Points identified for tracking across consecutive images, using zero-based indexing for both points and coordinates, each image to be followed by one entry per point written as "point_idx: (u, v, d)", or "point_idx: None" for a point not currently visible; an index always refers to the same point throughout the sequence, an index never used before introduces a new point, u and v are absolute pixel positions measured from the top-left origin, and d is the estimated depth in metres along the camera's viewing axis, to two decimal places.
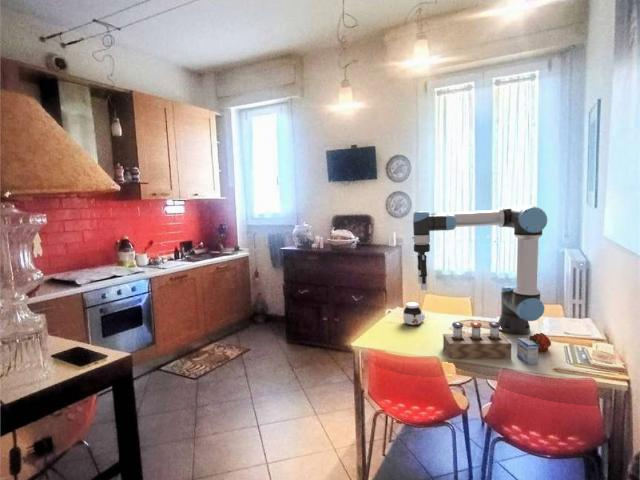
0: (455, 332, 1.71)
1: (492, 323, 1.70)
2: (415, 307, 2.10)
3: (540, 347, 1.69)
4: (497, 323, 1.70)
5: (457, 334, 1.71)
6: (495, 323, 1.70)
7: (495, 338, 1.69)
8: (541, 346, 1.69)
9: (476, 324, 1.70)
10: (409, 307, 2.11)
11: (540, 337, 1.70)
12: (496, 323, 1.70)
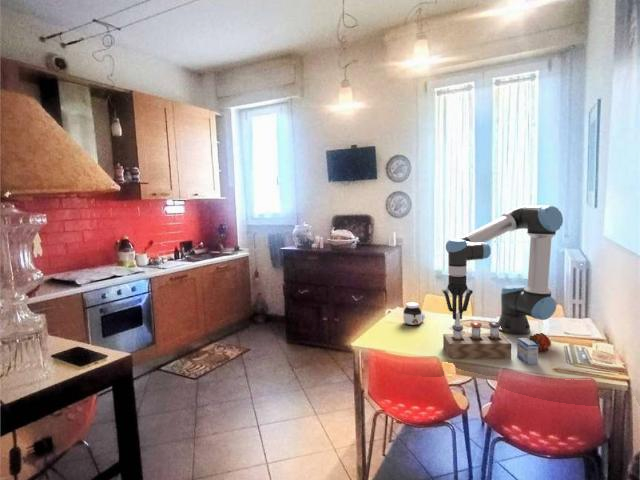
0: (455, 335, 1.71)
1: (492, 323, 1.70)
2: (415, 307, 2.10)
3: (540, 347, 1.69)
4: (497, 323, 1.70)
5: (457, 337, 1.71)
6: (495, 323, 1.70)
7: (495, 338, 1.69)
8: (541, 346, 1.69)
9: (476, 324, 1.70)
10: (409, 307, 2.11)
11: (540, 337, 1.70)
12: (496, 323, 1.70)
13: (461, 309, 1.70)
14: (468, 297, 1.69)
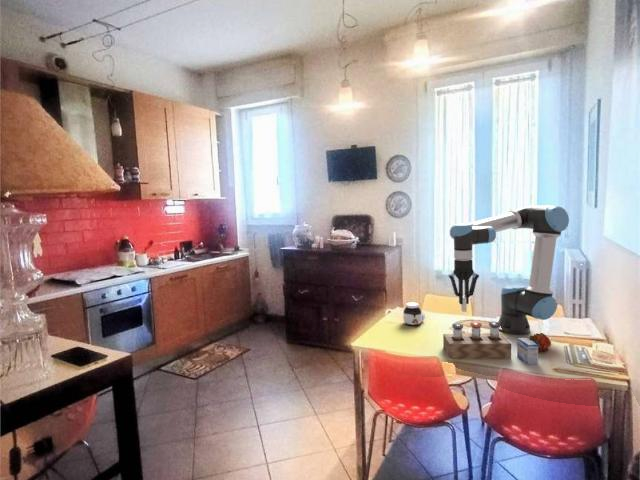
0: (455, 333, 1.71)
1: (492, 323, 1.70)
2: (415, 307, 2.10)
3: (540, 347, 1.69)
4: (497, 323, 1.70)
5: (457, 335, 1.71)
6: (495, 323, 1.70)
7: (495, 338, 1.69)
8: (541, 346, 1.69)
9: (476, 324, 1.70)
10: (409, 307, 2.11)
11: (540, 337, 1.70)
12: (496, 323, 1.70)
13: (467, 294, 1.69)
14: (474, 281, 1.68)
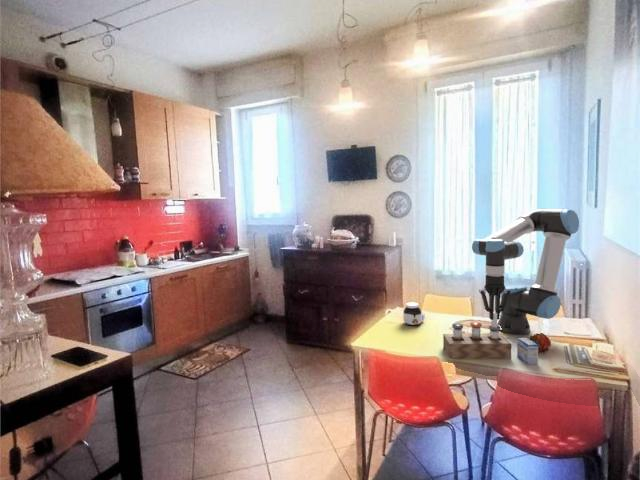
0: (455, 333, 1.71)
1: (492, 327, 1.70)
2: (415, 307, 2.10)
3: (540, 347, 1.69)
4: (497, 327, 1.70)
5: (457, 335, 1.71)
6: (495, 327, 1.70)
7: None
8: (541, 346, 1.69)
9: (476, 324, 1.70)
10: (409, 307, 2.11)
11: (540, 337, 1.70)
12: (496, 327, 1.70)
13: (498, 309, 1.68)
14: (506, 297, 1.67)
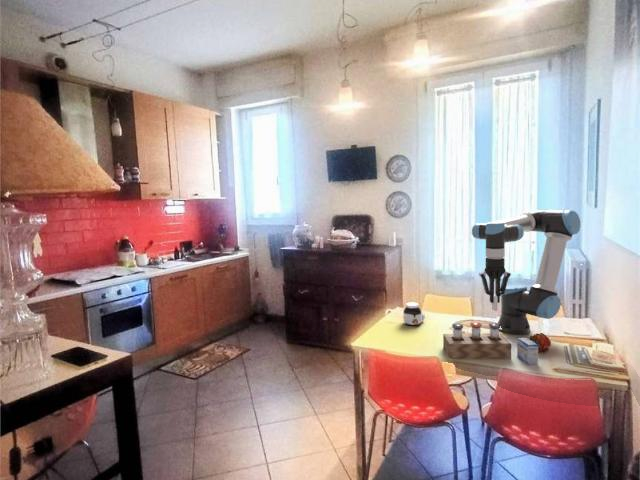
0: (455, 333, 1.71)
1: (492, 324, 1.70)
2: (415, 307, 2.10)
3: (540, 347, 1.69)
4: (497, 324, 1.70)
5: (457, 335, 1.71)
6: (495, 324, 1.70)
7: (495, 339, 1.70)
8: (541, 346, 1.69)
9: (476, 324, 1.70)
10: (409, 307, 2.11)
11: (540, 337, 1.70)
12: (496, 325, 1.70)
13: (499, 292, 1.67)
14: (506, 280, 1.66)
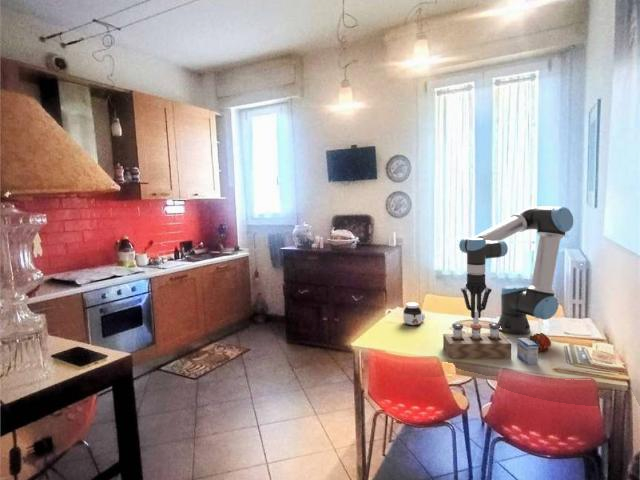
0: (455, 333, 1.71)
1: (492, 324, 1.70)
2: (415, 307, 2.10)
3: (540, 347, 1.69)
4: (497, 324, 1.70)
5: (457, 335, 1.71)
6: (495, 324, 1.70)
7: (495, 339, 1.70)
8: (541, 346, 1.69)
9: (476, 326, 1.70)
10: (409, 307, 2.11)
11: (540, 337, 1.70)
12: (496, 325, 1.70)
13: (480, 308, 1.69)
14: (487, 296, 1.68)
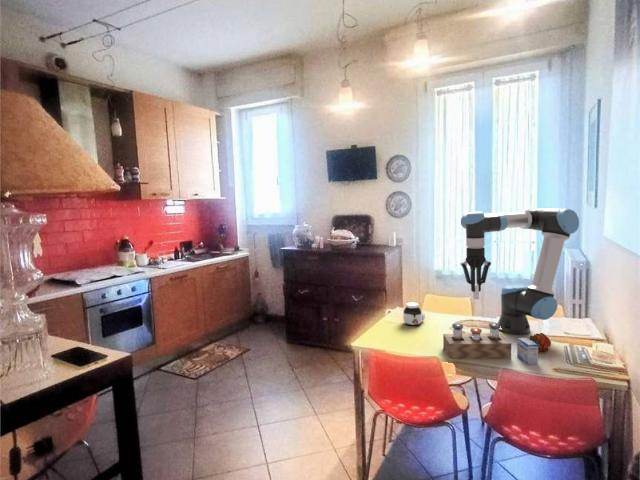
0: (455, 333, 1.71)
1: (492, 324, 1.70)
2: (415, 307, 2.10)
3: (540, 347, 1.69)
4: (497, 324, 1.70)
5: (457, 335, 1.71)
6: (495, 324, 1.70)
7: (495, 339, 1.70)
8: (541, 346, 1.69)
9: (476, 330, 1.70)
10: (409, 307, 2.11)
11: (540, 337, 1.70)
12: (496, 325, 1.70)
13: (480, 281, 1.70)
14: (486, 269, 1.69)
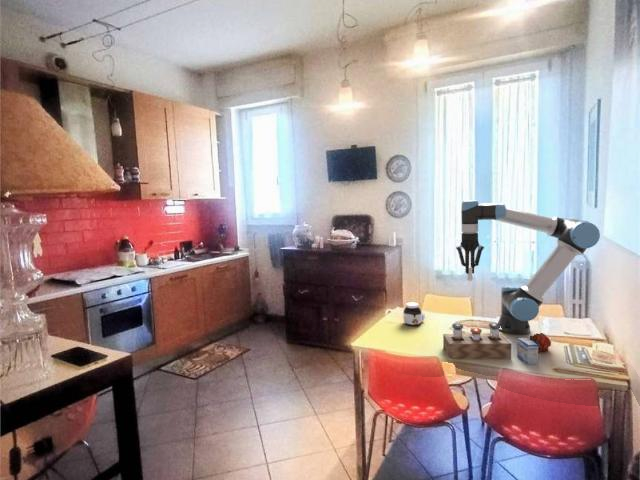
0: (455, 333, 1.71)
1: (492, 324, 1.70)
2: (415, 307, 2.10)
3: (540, 347, 1.69)
4: (497, 324, 1.70)
5: (457, 335, 1.71)
6: (495, 324, 1.70)
7: (495, 339, 1.70)
8: (541, 346, 1.69)
9: (476, 330, 1.70)
10: (409, 307, 2.11)
11: (540, 337, 1.70)
12: (496, 325, 1.70)
13: (473, 264, 1.86)
14: (480, 253, 1.85)
